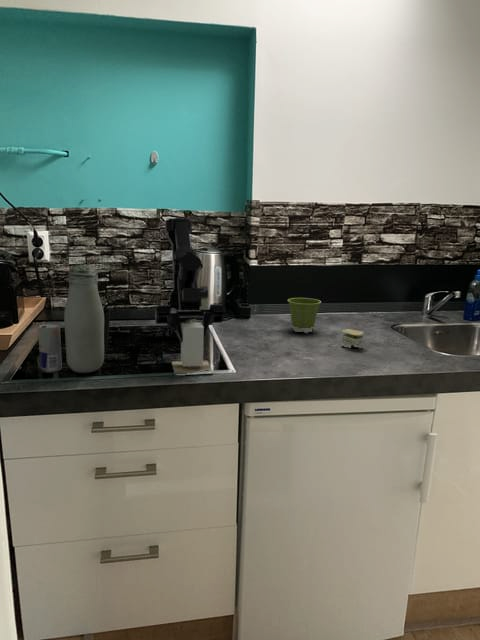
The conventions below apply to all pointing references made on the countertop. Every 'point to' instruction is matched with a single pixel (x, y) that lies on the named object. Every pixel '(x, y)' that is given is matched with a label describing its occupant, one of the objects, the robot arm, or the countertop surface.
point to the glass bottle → (84, 321)
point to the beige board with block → (189, 368)
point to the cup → (106, 328)
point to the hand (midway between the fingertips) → (192, 340)
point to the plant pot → (303, 311)
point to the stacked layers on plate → (352, 336)
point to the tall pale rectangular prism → (192, 344)
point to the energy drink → (50, 348)
